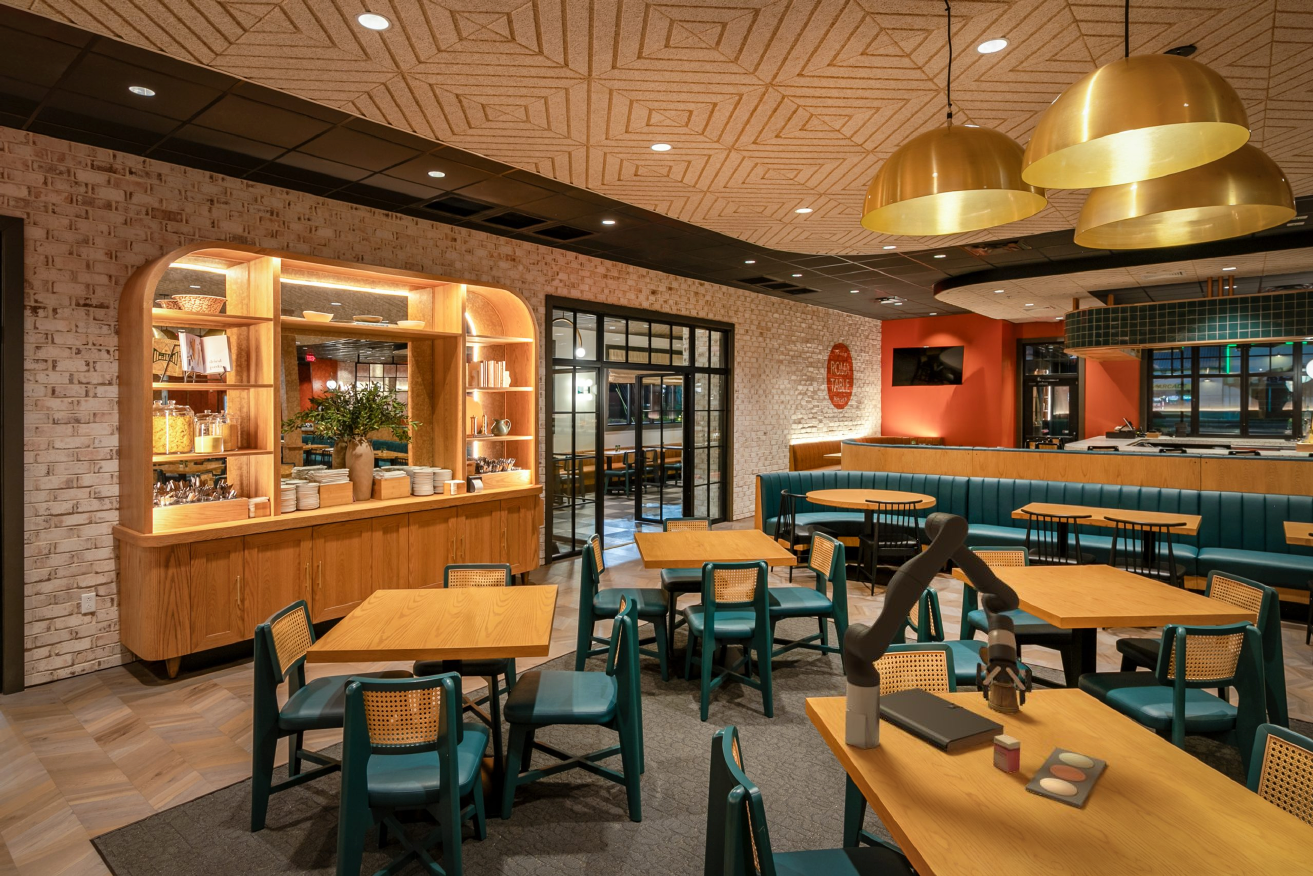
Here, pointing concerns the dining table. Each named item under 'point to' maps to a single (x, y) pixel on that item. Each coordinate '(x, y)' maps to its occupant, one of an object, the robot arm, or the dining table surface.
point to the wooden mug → (1000, 691)
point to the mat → (1067, 777)
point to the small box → (1006, 753)
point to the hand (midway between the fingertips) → (1004, 702)
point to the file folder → (937, 719)
